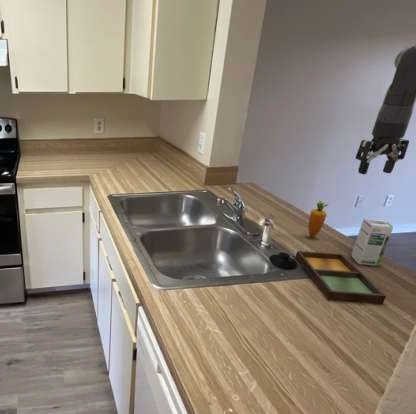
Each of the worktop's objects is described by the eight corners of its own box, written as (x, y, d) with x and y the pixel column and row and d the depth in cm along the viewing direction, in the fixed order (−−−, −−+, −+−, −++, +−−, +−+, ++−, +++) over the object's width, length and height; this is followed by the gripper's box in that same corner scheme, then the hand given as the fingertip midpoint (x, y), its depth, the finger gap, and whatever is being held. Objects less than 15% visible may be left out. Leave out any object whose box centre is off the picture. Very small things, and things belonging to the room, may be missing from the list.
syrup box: (358, 264, 108) (373, 225, 103) (350, 255, 114) (363, 217, 108) (378, 266, 107) (394, 226, 101) (369, 257, 112) (384, 218, 107)
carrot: (306, 233, 129) (317, 197, 123) (321, 238, 125) (332, 201, 119) (301, 237, 126) (311, 200, 120) (316, 242, 122) (327, 204, 116)
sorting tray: (339, 260, 111) (342, 253, 109) (382, 304, 91) (386, 296, 89) (295, 257, 112) (297, 250, 111) (327, 299, 92) (330, 291, 91)
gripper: (382, 123, 93) (364, 177, 99) (427, 121, 95) (406, 175, 101) (359, 119, 100) (344, 170, 106) (401, 117, 101) (383, 168, 108)
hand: (374, 173), depth 104 cm, fingers open, 8 cm apart
